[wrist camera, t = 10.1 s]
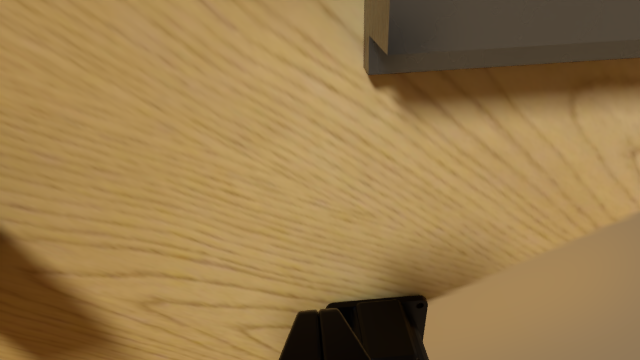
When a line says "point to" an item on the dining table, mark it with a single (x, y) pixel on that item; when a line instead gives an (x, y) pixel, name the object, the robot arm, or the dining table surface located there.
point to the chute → (495, 33)
